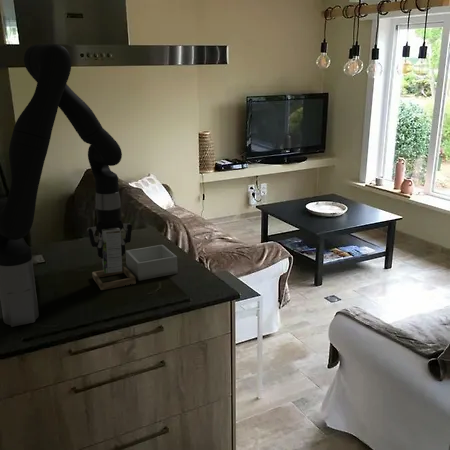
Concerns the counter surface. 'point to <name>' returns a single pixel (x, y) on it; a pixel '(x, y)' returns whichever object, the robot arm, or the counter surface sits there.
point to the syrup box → (111, 250)
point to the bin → (151, 262)
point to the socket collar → (113, 284)
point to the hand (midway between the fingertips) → (111, 256)
